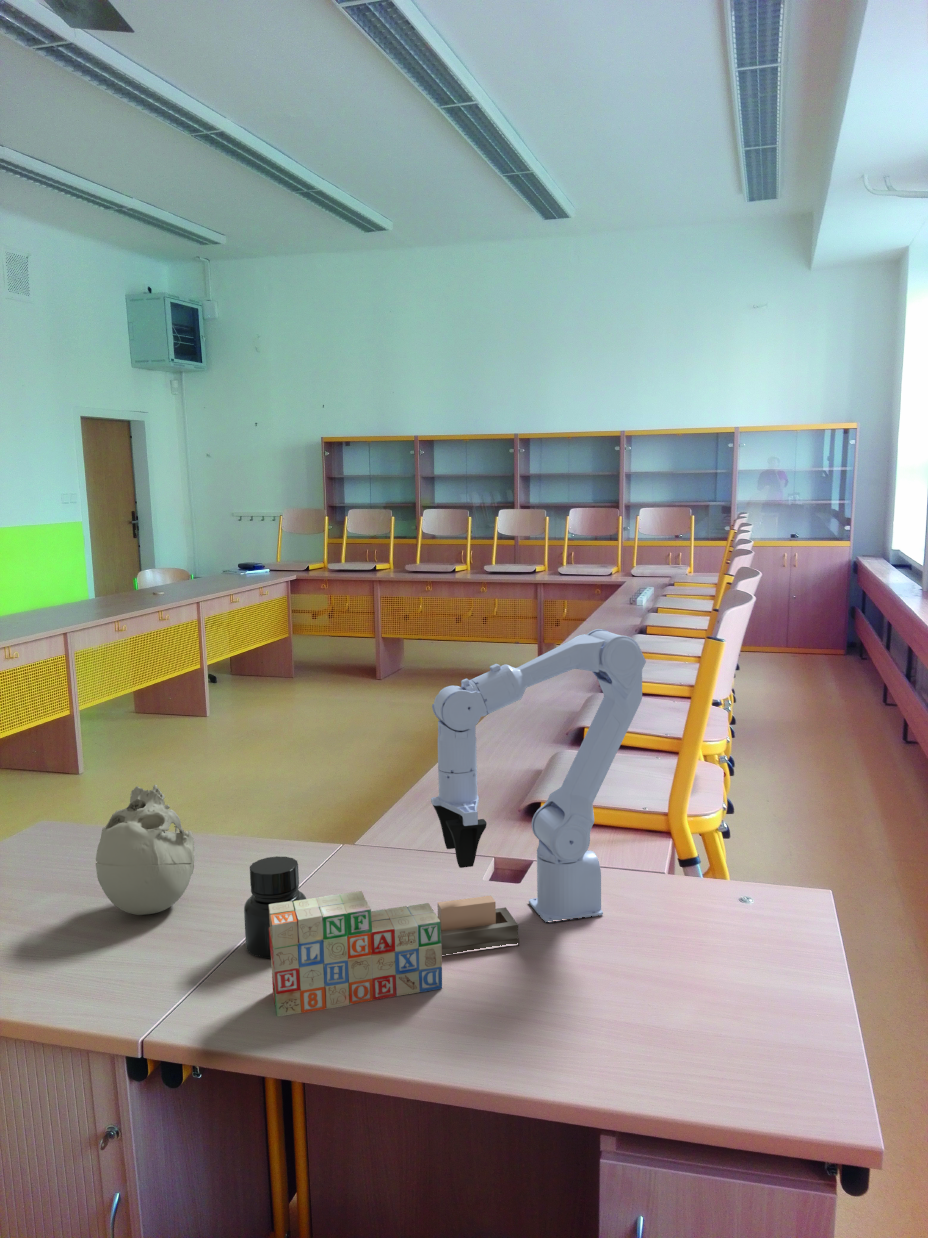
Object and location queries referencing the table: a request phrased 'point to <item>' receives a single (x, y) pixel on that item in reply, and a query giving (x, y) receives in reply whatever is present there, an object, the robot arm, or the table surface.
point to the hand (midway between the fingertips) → (459, 857)
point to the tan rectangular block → (467, 913)
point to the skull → (144, 855)
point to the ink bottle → (268, 898)
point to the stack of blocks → (350, 952)
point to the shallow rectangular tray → (481, 935)
